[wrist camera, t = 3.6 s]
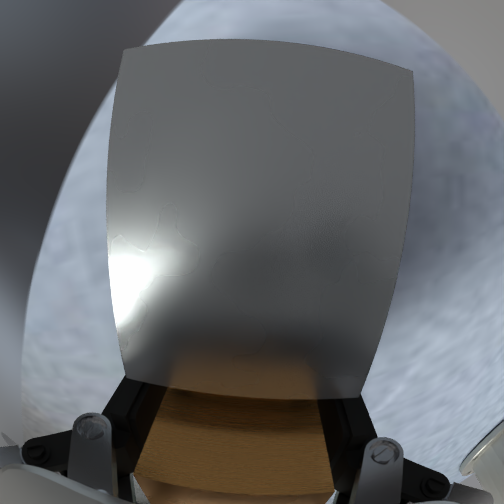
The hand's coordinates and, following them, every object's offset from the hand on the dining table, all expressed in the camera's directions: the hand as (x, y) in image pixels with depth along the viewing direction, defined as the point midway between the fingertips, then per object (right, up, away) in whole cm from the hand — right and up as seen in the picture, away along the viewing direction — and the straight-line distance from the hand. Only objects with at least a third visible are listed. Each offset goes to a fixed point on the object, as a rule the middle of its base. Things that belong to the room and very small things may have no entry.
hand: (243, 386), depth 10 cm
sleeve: (+1, +7, 0) cm, 7 cm away
